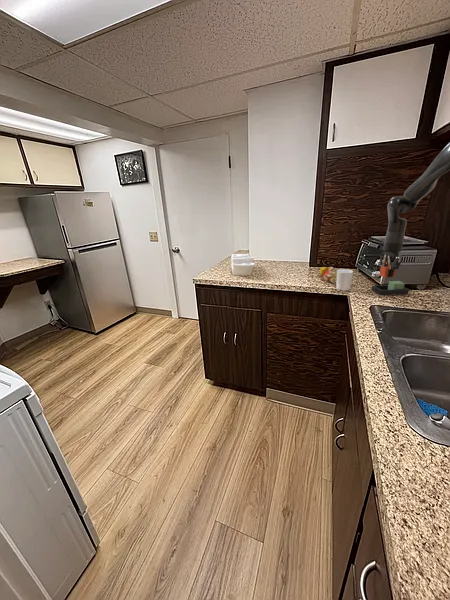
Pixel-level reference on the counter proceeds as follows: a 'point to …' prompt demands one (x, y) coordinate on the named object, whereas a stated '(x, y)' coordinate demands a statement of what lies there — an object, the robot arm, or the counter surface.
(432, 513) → the counter surface
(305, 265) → the counter surface
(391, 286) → the green block
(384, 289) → the dark grey tray
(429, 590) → the counter surface
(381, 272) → the orange block
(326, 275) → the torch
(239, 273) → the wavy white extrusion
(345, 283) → the white cup
